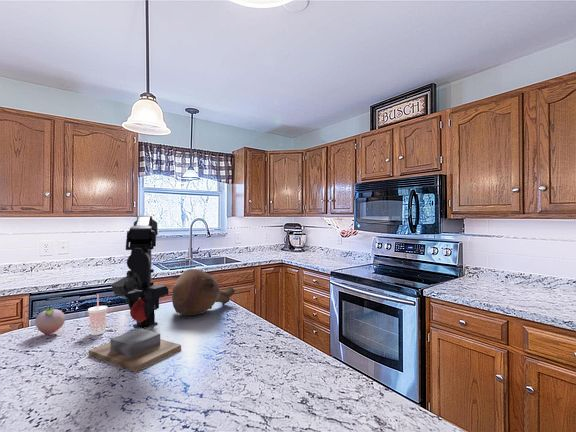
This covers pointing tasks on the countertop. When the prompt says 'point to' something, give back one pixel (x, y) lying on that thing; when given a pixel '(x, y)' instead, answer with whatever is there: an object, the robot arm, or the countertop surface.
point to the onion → (138, 311)
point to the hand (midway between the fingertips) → (140, 316)
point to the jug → (197, 293)
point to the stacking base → (136, 359)
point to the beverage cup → (97, 318)
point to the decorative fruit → (50, 321)
